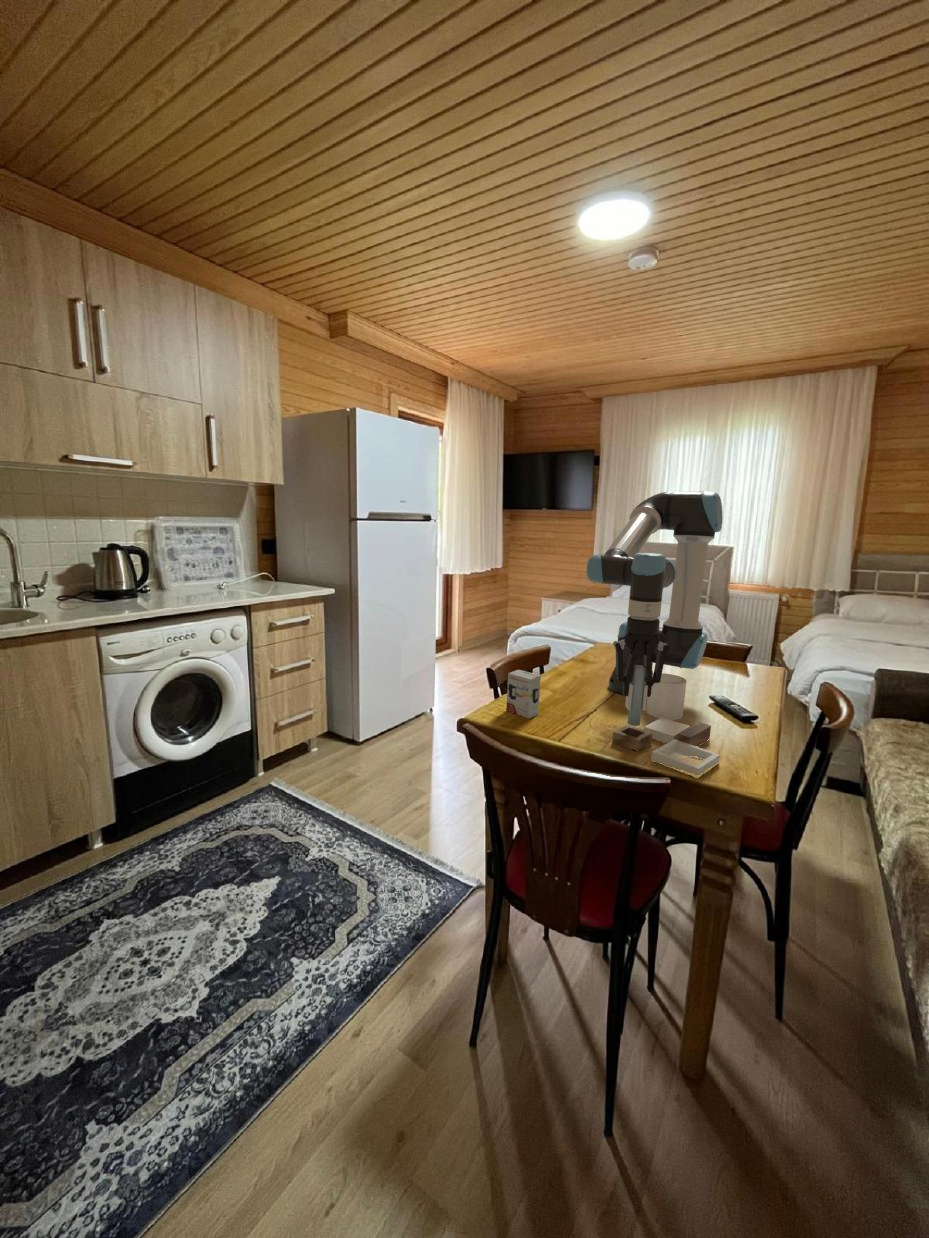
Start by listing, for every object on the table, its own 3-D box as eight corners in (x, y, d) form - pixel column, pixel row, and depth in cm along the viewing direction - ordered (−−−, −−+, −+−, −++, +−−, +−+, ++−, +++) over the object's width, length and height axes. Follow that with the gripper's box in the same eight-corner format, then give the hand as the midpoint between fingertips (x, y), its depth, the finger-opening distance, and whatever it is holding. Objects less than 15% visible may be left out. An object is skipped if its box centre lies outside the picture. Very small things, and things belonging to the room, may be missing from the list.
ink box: (505, 710, 157) (506, 672, 155) (515, 706, 161) (517, 668, 158) (529, 718, 151) (531, 679, 149) (539, 714, 155) (541, 675, 153)
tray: (651, 761, 127) (652, 751, 127) (673, 748, 135) (674, 739, 134) (697, 779, 119) (698, 768, 119) (718, 764, 127) (720, 754, 126)
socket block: (612, 742, 137) (613, 731, 137) (626, 735, 142) (627, 724, 141) (637, 751, 132) (638, 740, 131) (651, 744, 137) (652, 733, 136)
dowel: (629, 725, 135) (634, 668, 132) (626, 720, 138) (631, 664, 135) (641, 726, 134) (646, 668, 131) (638, 721, 137) (643, 665, 134)
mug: (682, 726, 149) (686, 689, 147) (644, 720, 153) (647, 684, 151) (682, 710, 162) (686, 676, 160) (647, 704, 165) (650, 671, 163)
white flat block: (643, 737, 142) (644, 726, 141) (660, 727, 149) (661, 717, 148) (672, 747, 136) (673, 736, 136) (689, 736, 143) (690, 725, 143)
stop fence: (676, 748, 134) (678, 733, 134) (698, 736, 142) (699, 722, 142) (688, 752, 132) (690, 737, 131) (709, 739, 140) (711, 725, 139)
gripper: (613, 619, 127) (606, 712, 132) (682, 621, 126) (672, 715, 131) (607, 613, 134) (600, 701, 139) (672, 615, 134) (662, 704, 138)
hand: (635, 708), depth 135 cm, fingers closed on dowel, 3 cm apart
